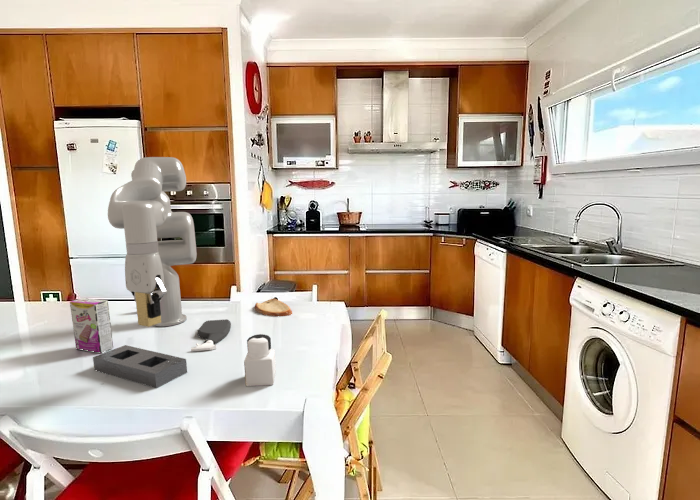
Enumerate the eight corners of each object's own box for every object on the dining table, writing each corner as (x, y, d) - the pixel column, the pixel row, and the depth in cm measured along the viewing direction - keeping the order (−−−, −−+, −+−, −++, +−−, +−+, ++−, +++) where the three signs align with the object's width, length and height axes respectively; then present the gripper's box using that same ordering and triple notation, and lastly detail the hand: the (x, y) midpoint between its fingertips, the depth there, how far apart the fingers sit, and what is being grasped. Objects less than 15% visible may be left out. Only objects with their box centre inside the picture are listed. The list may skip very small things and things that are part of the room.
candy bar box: (74, 350, 134) (68, 301, 132) (89, 345, 139) (83, 297, 137) (100, 354, 131) (94, 303, 128) (114, 348, 135) (108, 299, 133)
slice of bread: (290, 317, 165) (290, 308, 164) (246, 317, 166) (245, 308, 165) (299, 304, 182) (298, 296, 182) (258, 304, 184) (258, 296, 183)
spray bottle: (233, 326, 156) (222, 352, 132) (202, 328, 154) (186, 355, 130) (232, 318, 155) (221, 343, 131) (202, 320, 154) (185, 346, 130)
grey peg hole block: (94, 370, 119) (92, 357, 118) (126, 357, 128) (125, 345, 127) (156, 388, 107) (154, 373, 107) (187, 372, 116) (186, 358, 115)
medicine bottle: (249, 374, 114) (247, 332, 112) (276, 373, 114) (273, 331, 113) (245, 387, 107) (242, 342, 105) (273, 385, 107) (271, 341, 106)
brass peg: (138, 324, 112) (134, 288, 110) (151, 320, 115) (147, 285, 114) (148, 326, 110) (144, 290, 108) (161, 322, 113) (157, 286, 112)
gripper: (108, 249, 110) (116, 316, 113) (151, 252, 103) (158, 324, 105) (134, 245, 117) (141, 308, 119) (176, 248, 109) (182, 315, 112)
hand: (149, 315), depth 112 cm, fingers closed on brass peg, 4 cm apart
